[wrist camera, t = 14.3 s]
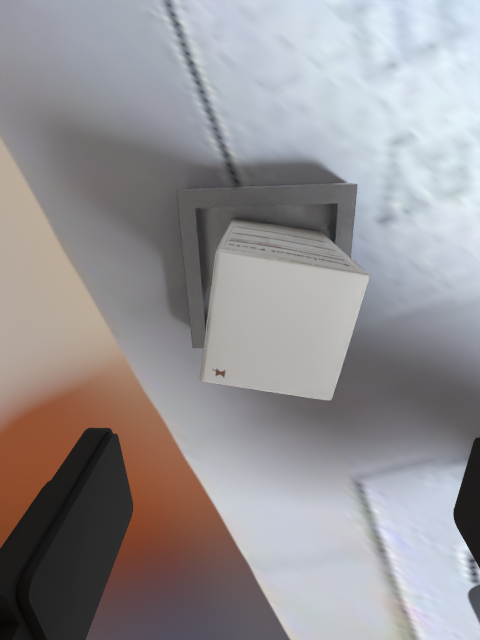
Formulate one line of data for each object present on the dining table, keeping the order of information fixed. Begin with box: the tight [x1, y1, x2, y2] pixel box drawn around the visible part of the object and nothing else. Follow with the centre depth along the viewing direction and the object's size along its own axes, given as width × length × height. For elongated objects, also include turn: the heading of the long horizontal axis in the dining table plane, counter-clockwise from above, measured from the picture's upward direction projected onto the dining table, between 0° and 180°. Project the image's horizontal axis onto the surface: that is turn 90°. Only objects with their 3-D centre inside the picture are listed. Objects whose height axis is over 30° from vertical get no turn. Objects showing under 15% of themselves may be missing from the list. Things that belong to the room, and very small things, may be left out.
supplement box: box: [200, 218, 370, 400], centre depth 23 cm, size 7×7×13 cm
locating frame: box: [177, 183, 357, 348], centre depth 28 cm, size 12×12×3 cm
